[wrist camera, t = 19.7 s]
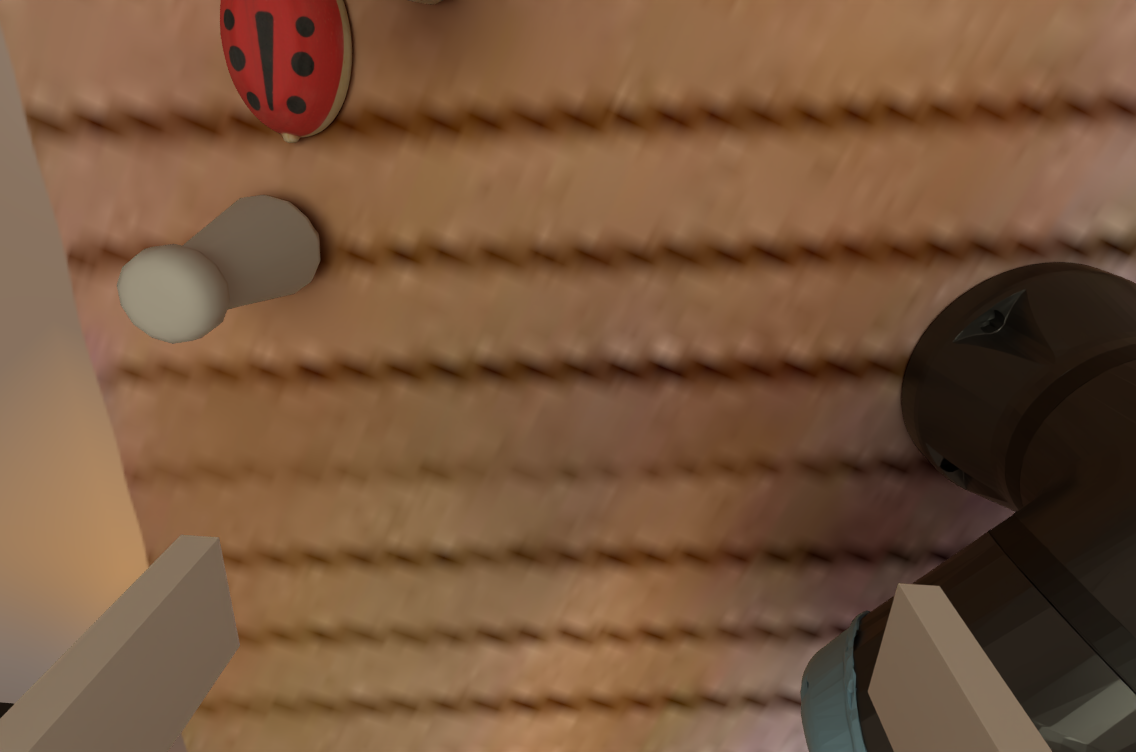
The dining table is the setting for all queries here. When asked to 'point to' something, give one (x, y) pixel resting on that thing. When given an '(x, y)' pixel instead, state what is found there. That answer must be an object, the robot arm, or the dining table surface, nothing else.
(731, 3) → the dining table surface
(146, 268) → the salt shaker
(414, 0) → the handle
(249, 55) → the ladybug figurine
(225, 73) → the dining table surface
